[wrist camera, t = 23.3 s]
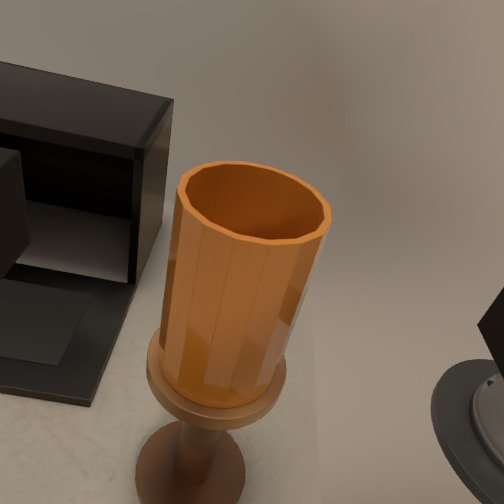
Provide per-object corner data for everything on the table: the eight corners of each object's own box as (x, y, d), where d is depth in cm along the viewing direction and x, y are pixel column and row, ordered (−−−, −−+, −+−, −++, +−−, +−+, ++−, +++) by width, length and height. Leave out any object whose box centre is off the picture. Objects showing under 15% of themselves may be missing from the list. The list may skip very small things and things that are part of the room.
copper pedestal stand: (246, 433, 42) (285, 319, 33) (239, 540, 35) (287, 430, 26) (149, 417, 41) (163, 297, 33) (121, 523, 34) (130, 405, 25)
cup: (276, 324, 33) (325, 177, 26) (275, 418, 26) (339, 258, 19) (171, 305, 32) (191, 149, 25) (145, 396, 26) (162, 224, 19)
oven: (161, 224, 66) (175, 89, 54) (89, 407, 41) (86, 230, 30) (-22, 188, 64) (-48, 40, 52) (-214, 357, 39) (-345, 147, 28)
